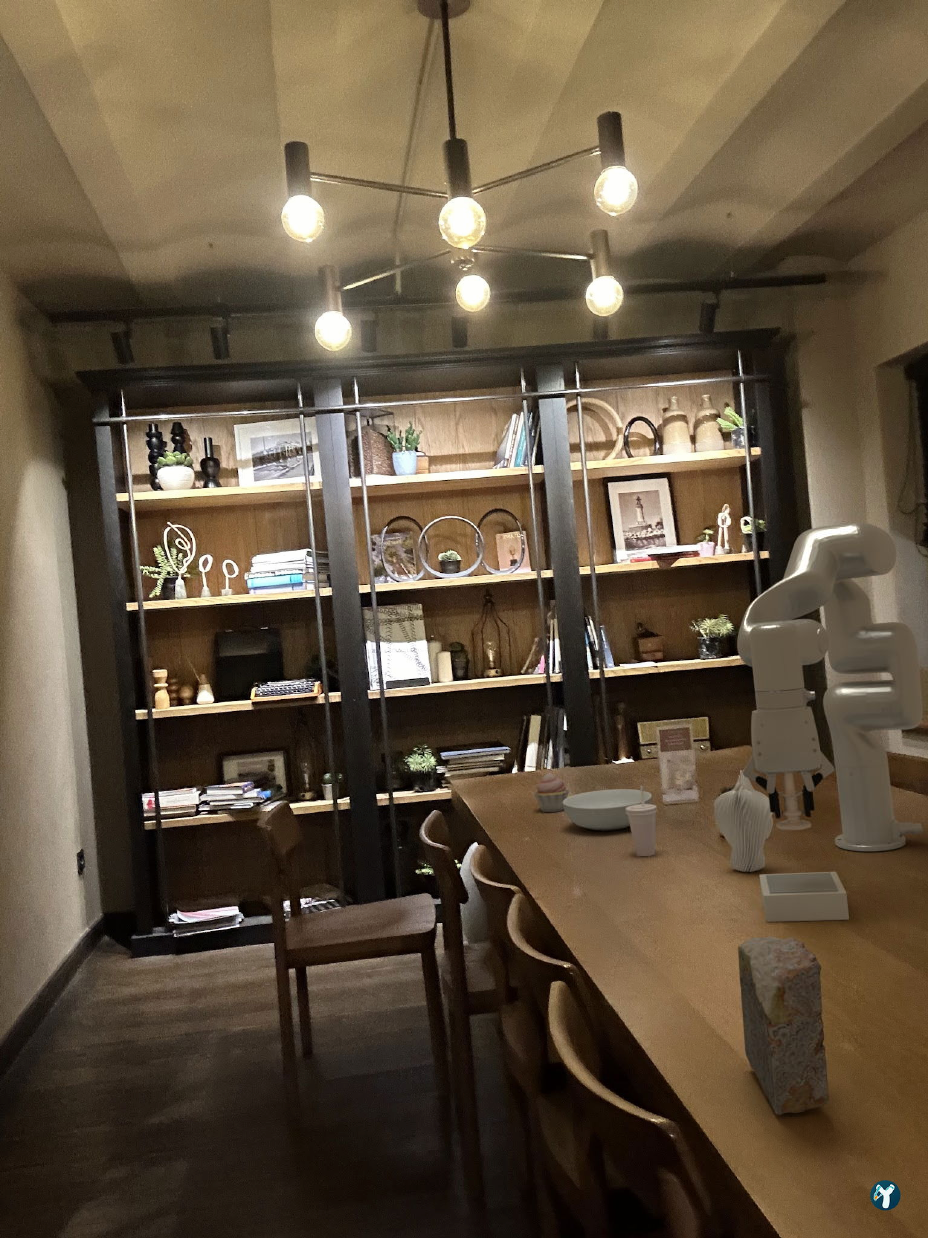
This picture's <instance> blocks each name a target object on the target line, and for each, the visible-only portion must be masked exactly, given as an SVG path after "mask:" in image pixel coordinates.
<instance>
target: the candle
mask: <svg viewBox="0 0 928 1238" xmlns="http://www.w3.org/2000/svg"><path fill="white" fill-rule="evenodd" d="M794 774H795V773H782V775H783V776H782V778H783V787H784V791H783V790H782V791H777V792H778V795H779V796H782V797H783V800H784V802H783V805H784V809H783V810H782V811H781V814H782V816H785V817H786V819H785V820H782V821H778V822H777V823H776V826H775V827H776V828H777V829H780V830H782V831H800V830H805V829H809V828H811V827H812V823H811V822H810V821H808V820H804V819H802V820H801V818H800V816H802V815H803V814H804V810H803V809H800V806H799V805H800V802H799V796H800V795H802V794H803V792H802V790H797V789H796V784H795V781H796V780H795V775H794Z"/></svg>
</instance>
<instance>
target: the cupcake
mask: <svg viewBox="0 0 928 1238" xmlns="http://www.w3.org/2000/svg"><path fill="white" fill-rule="evenodd" d="M536 790H537V791H536V792H535V793H533V795H534V796H535V799H536V801H537V803H538V804H539V808H540V811H541V812H542V813H547V812H552V813H559V812H562V811H565V810H564V806H563V801H564V800H565V799H566V798H568V797H569V796H568V795H569V793H570V790H568V789H567V786H566V784H565V783H564V781H563V780H562V779H561V778H560V777H556V775H554V774H553V773H552V772H551V771H549V772H548V773H546V774H545V775H544V776H543V777H542V778H541V779H540V782H539V783H538V785H537V786H536Z"/></svg>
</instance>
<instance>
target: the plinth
mask: <svg viewBox="0 0 928 1238" xmlns="http://www.w3.org/2000/svg"><path fill="white" fill-rule="evenodd" d="M759 884H760V893H761V900H762V905H763V911H764V918H765V920H766V922H767V923H770V922H772V923H773V922H803V921H804V922H806V921H840V920H841V921H842V920H844V921H847V920H850V917H849V916H850V915H849V907H848V898H847V892H846V890H845V889H846V888H844V886H843V883H842V882H841V879H840V877H839V876H838V873H837V872H836V871H821V872H819V871H818V872H797V873H796V872H795V873H794V872H793V873H770V874H769V873H768V874H767V873H766V874H763V873H762V874H759Z"/></svg>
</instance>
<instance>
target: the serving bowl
mask: <svg viewBox="0 0 928 1238" xmlns="http://www.w3.org/2000/svg"><path fill="white" fill-rule="evenodd" d="M643 793H644V802H645V804H651V805H653V804H652V801H653V798H652V797H653V795H652V794H651V793H650V792H648V791H645V790H643ZM639 804H642V800H641V791H640V790H639V789H632V788H631V789H630V788H629V789H625V788H623V789H620V788H618V789H617V788H616V789H615V788H614V789H603V790H593V791H588V792H587V791H586V792H581V793H578V794H574V795H571V796H567V798H566V799H565V800H564V801H563V806H564V810H563V811H564V812H565V815H566V816H567V817H568V819H569V820H570V821H571V822H572V823H574V824H575V825H576V826H579V827H582V828H584V829H590V830H594V831H598V830H601V831H602V832H608V831H607V830H612V831H618V830H623V829H627V828H628V827H630V823H629V819H628V814H626V808H627V807H629V806H632V805H639ZM605 830H606V831H605ZM601 831H600V832H601Z"/></svg>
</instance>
